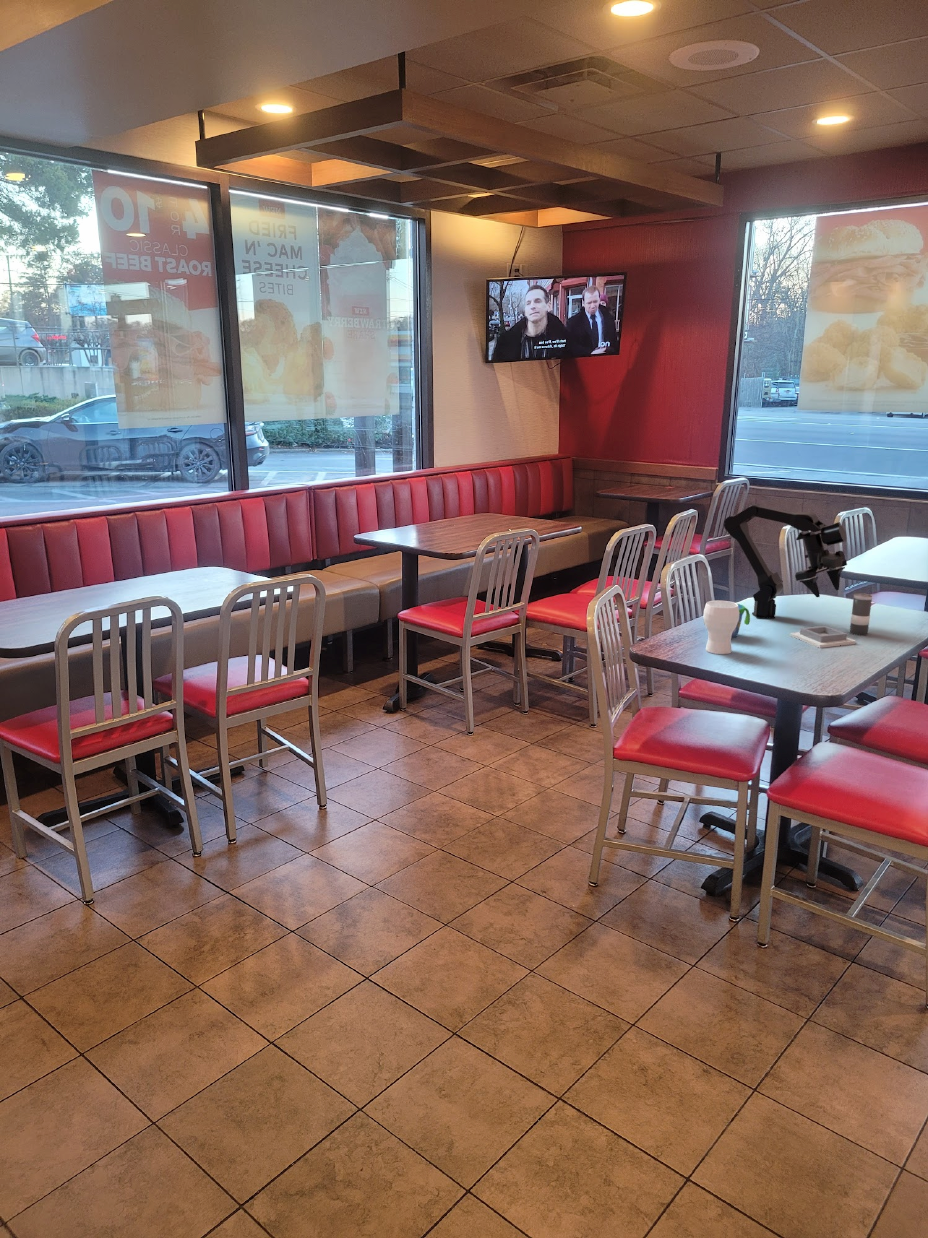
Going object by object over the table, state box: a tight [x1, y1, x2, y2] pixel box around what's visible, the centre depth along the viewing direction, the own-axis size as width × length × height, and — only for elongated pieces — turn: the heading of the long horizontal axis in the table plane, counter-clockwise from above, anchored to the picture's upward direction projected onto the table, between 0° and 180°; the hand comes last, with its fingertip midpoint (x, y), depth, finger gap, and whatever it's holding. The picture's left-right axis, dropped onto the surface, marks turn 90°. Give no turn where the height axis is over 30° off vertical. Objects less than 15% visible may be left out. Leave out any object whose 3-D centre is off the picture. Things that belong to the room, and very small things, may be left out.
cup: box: [703, 600, 739, 655], centre depth 278 cm, size 11×11×15 cm
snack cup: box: [703, 602, 751, 638], centre depth 295 cm, size 16×10×10 cm
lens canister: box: [849, 592, 873, 636], centre depth 297 cm, size 6×6×13 cm
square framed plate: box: [790, 625, 857, 649], centre depth 291 cm, size 14×14×3 cm
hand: (827, 593), depth 304 cm, fingers open, 9 cm apart
